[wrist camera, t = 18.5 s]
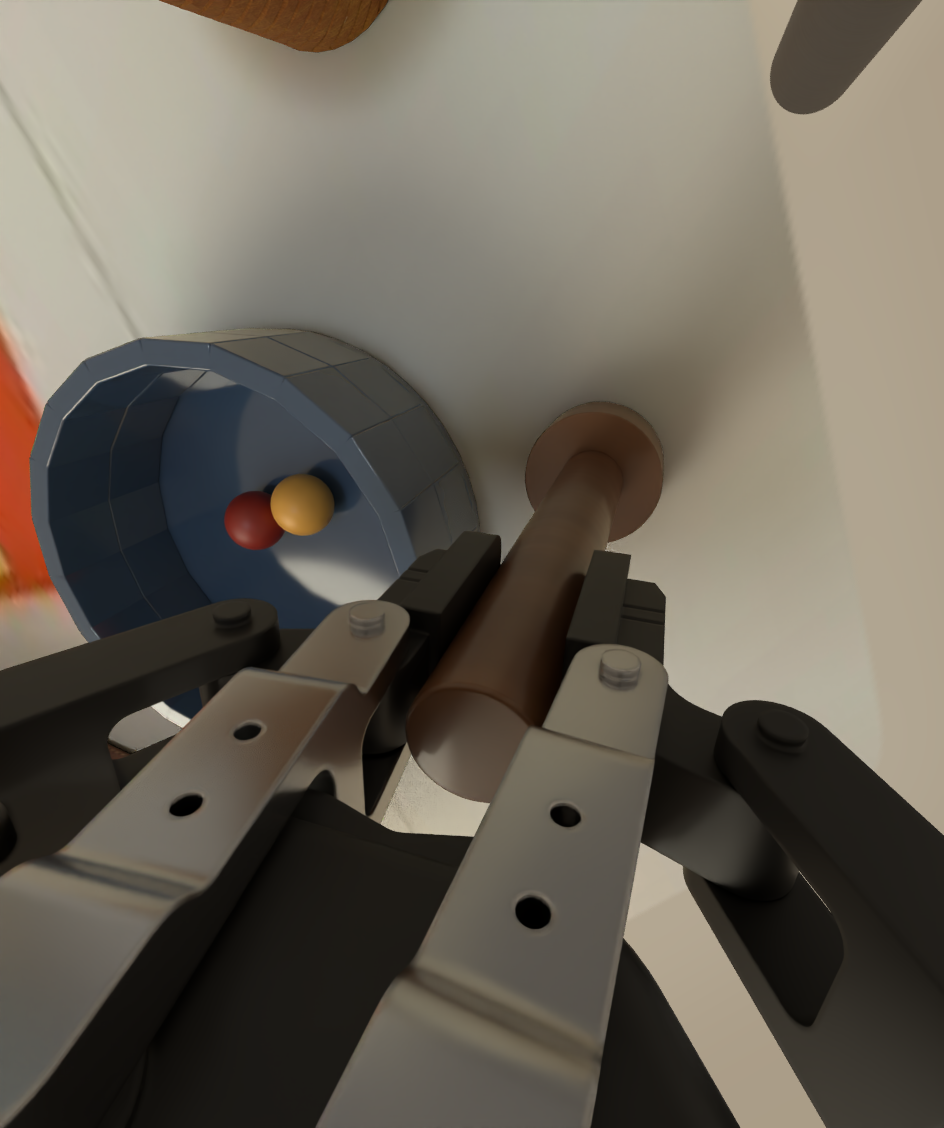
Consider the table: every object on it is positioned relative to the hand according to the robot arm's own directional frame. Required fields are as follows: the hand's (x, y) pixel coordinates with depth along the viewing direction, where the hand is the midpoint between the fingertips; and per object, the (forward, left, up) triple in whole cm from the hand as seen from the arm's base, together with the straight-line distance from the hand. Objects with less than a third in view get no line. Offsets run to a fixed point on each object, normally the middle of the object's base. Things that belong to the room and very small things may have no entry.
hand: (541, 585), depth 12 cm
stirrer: (0, 0, -10) cm, 10 cm away
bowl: (+4, -12, -10) cm, 16 cm away
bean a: (+2, -11, -8) cm, 14 cm away
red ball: (+3, -13, -8) cm, 16 cm away
